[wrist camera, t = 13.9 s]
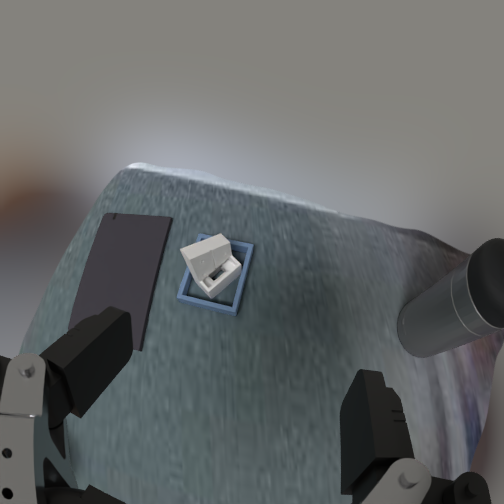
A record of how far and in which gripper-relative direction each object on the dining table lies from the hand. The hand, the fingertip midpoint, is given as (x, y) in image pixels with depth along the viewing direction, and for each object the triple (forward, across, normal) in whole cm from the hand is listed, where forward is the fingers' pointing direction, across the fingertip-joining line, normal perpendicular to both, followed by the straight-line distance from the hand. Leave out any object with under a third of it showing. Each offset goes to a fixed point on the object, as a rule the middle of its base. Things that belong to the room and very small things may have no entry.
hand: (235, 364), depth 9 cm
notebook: (+28, +23, +14) cm, 39 cm away
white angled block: (+30, +8, +12) cm, 33 cm away
